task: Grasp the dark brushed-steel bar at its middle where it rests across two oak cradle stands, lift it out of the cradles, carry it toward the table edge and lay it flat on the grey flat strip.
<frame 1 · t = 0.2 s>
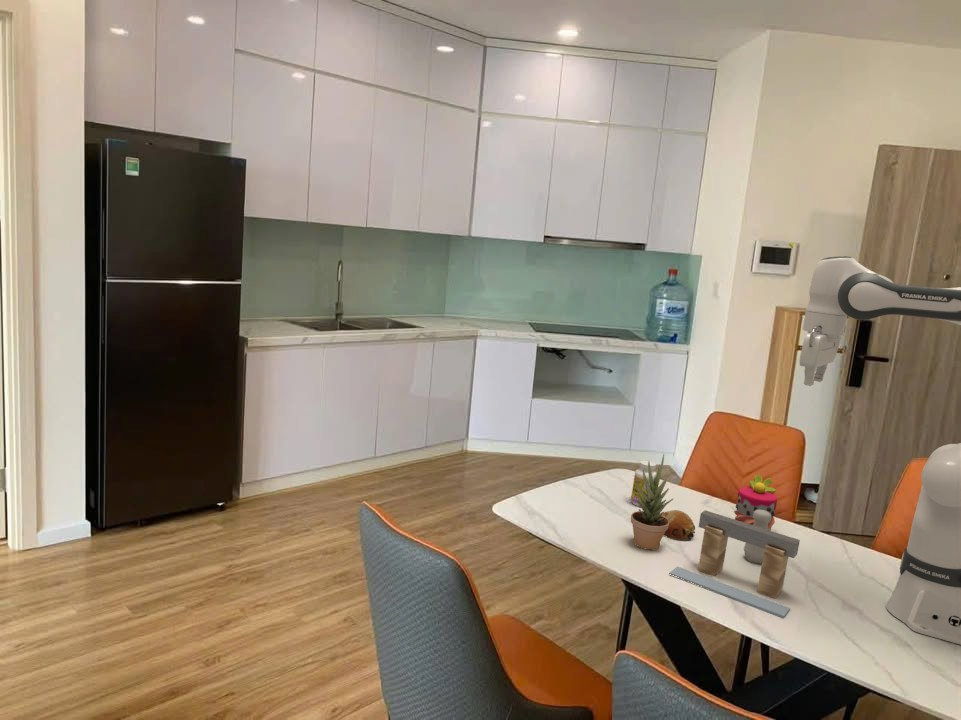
hand: (813, 383, 171), 47 cm above the table, tool pointing down, fingers open, 8 cm apart
stand far: (710, 569, 175), on the table
potted plant: (646, 545, 185), on the table
salt shaker: (754, 560, 183), on the table
bread roll: (675, 534, 195), on the table
bar: (746, 540, 169), point 10 cm above the table, touching stand far, stand near
grey flat strip: (727, 591, 164), on the table
supplement bottle: (641, 504, 215), on the table
cake: (751, 530, 204), on the table
stand near: (769, 591, 167), on the table
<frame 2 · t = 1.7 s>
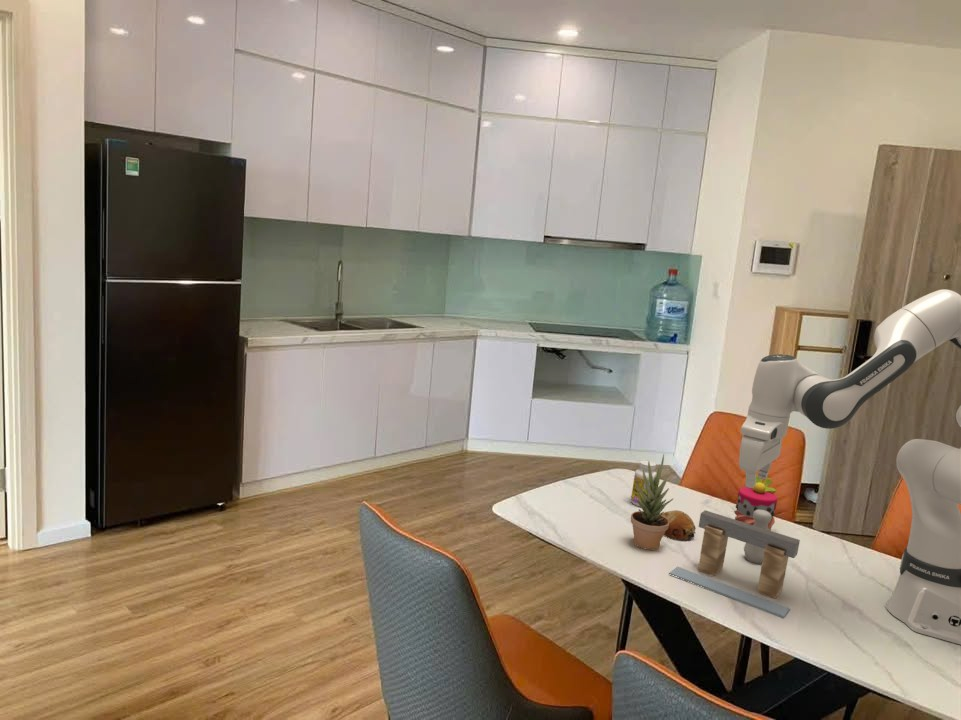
hand: (756, 482, 167), 24 cm above the table, tool pointing down, fingers open, 8 cm apart
nothing on the table moved.
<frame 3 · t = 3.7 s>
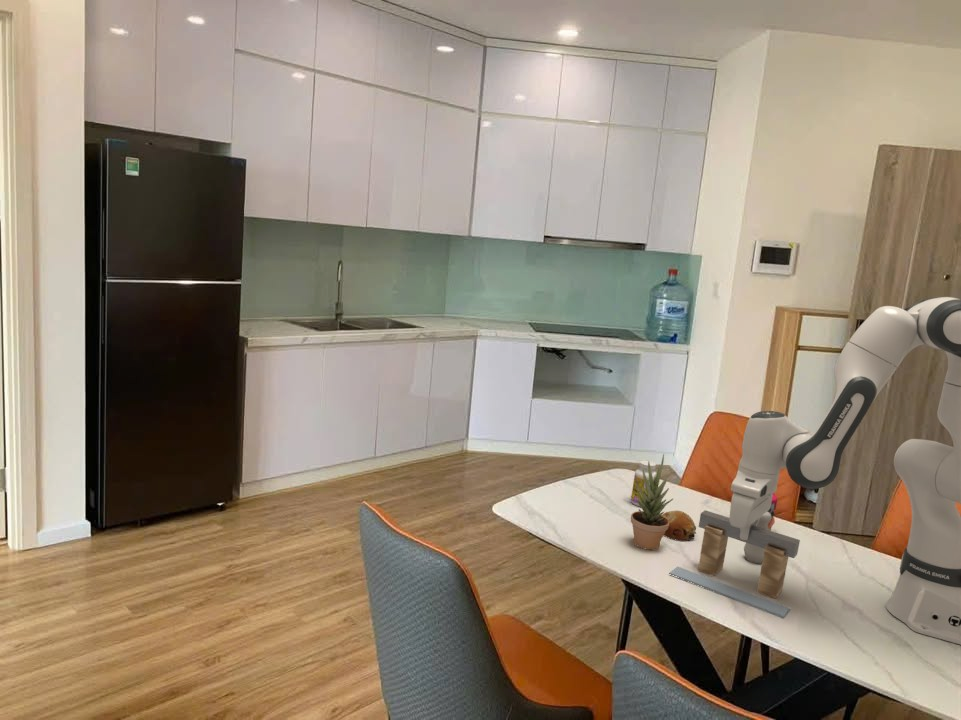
hand: (747, 536, 169), 11 cm above the table, tool pointing down, fingers closed on bar, 3 cm apart
bar: (746, 540, 169), point 10 cm above the table, touching gripper, stand far, stand near
everything else where it was.
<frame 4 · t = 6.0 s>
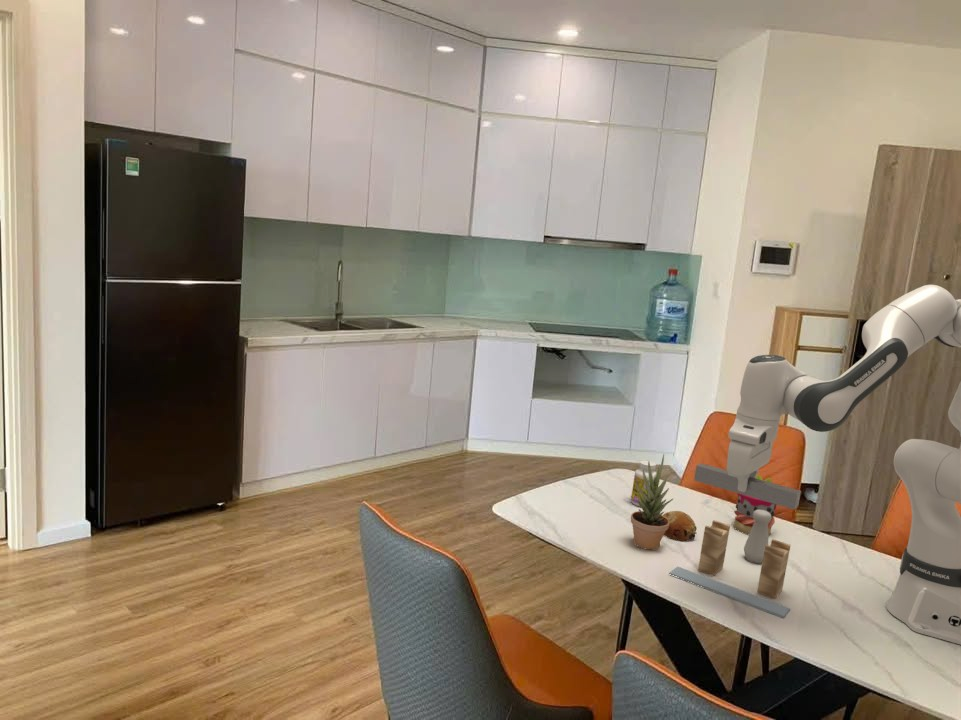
hand: (745, 488, 160), 25 cm above the table, tool pointing down, fingers closed on bar, 3 cm apart
bar: (744, 492, 160), point 24 cm above the table, touching gripper
everything else where it was.
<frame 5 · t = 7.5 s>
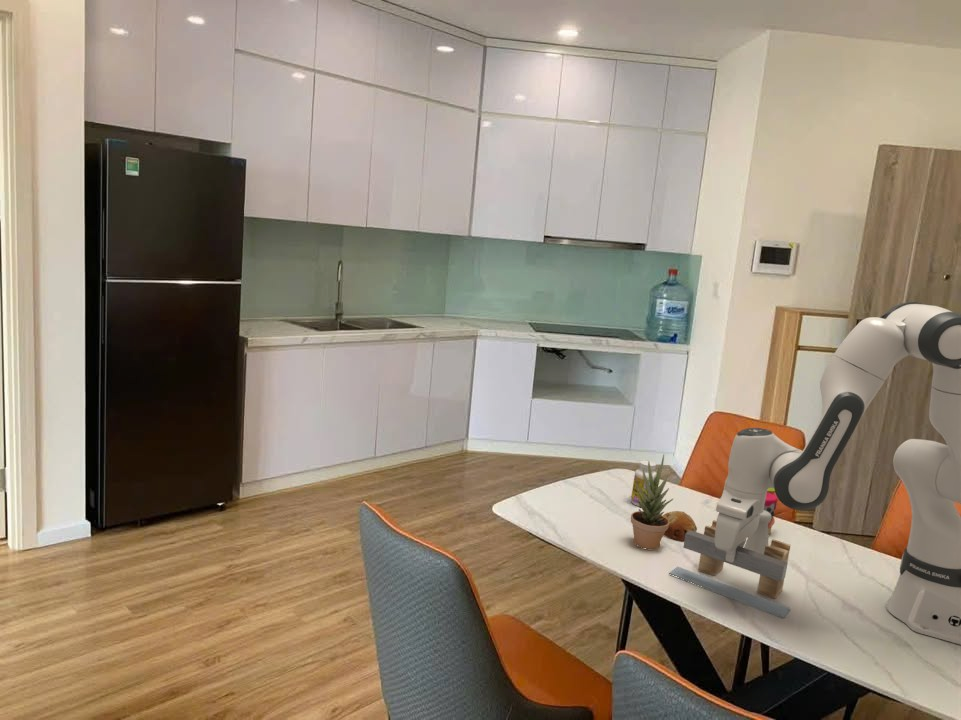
hand: (733, 557, 162), 8 cm above the table, tool pointing down, fingers closed on bar, 3 cm apart
bar: (732, 562, 163), point 7 cm above the table, touching gripper
everything else where it was.
when the fingers open (3 cm above the table, at t = 8.7 s): bar drops 1 cm, resting on grey flat strip.
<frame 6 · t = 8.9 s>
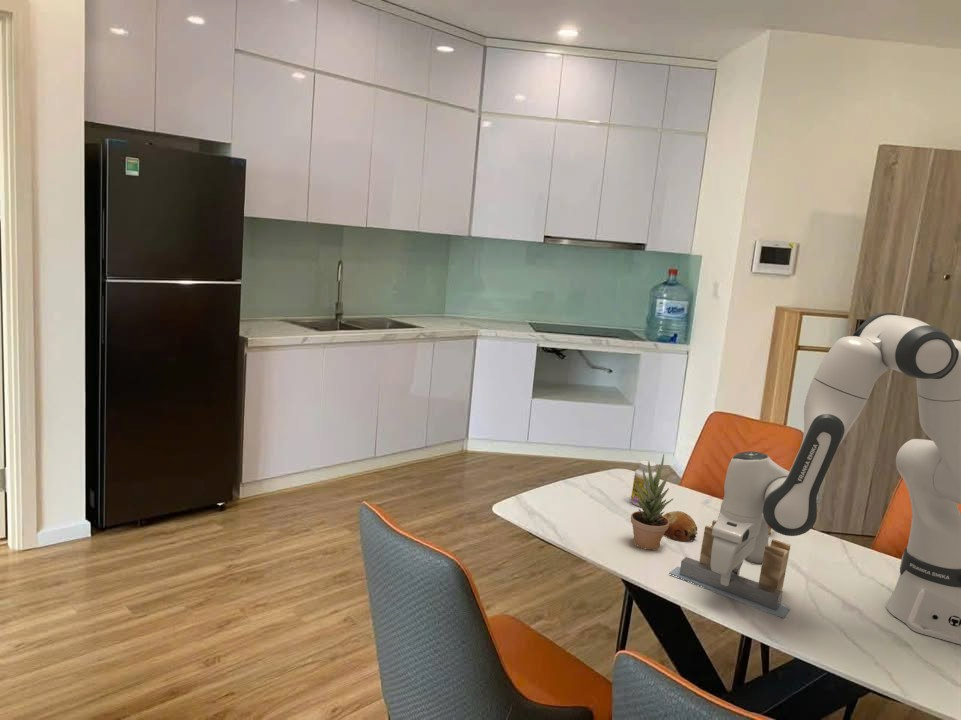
hand: (729, 580, 163), 3 cm above the table, tool pointing down, fingers open, 5 cm apart
bar: (727, 589, 164), resting on grey flat strip
everything else where it was.
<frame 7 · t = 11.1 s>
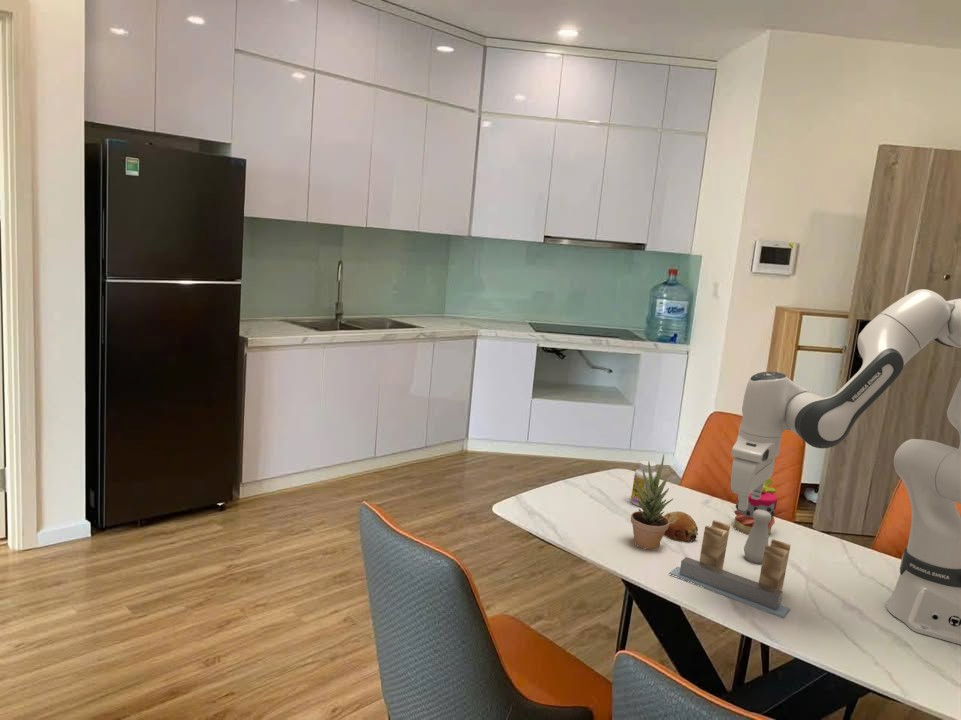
hand: (749, 503, 162), 21 cm above the table, tool pointing down, fingers open, 8 cm apart
nothing on the table moved.
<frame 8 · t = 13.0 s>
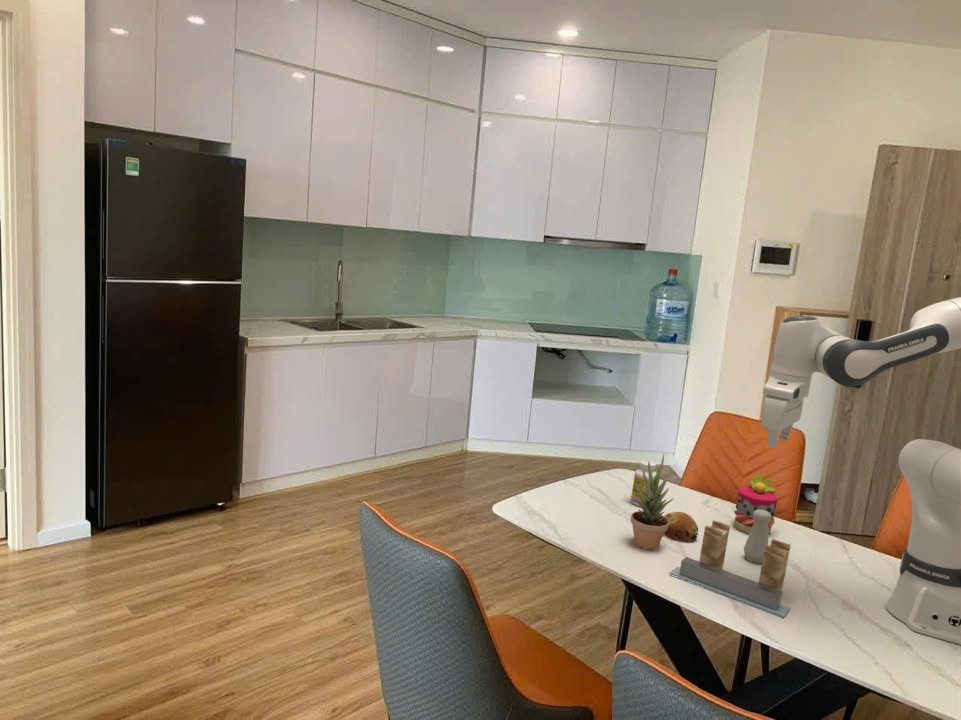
hand: (778, 443, 168), 33 cm above the table, tool pointing down, fingers open, 8 cm apart
at the end: bar inside the target area (0.0 cm from its centre), point 0.5 cm above the table; bar tilted 0°; the gripper is holding nothing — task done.
